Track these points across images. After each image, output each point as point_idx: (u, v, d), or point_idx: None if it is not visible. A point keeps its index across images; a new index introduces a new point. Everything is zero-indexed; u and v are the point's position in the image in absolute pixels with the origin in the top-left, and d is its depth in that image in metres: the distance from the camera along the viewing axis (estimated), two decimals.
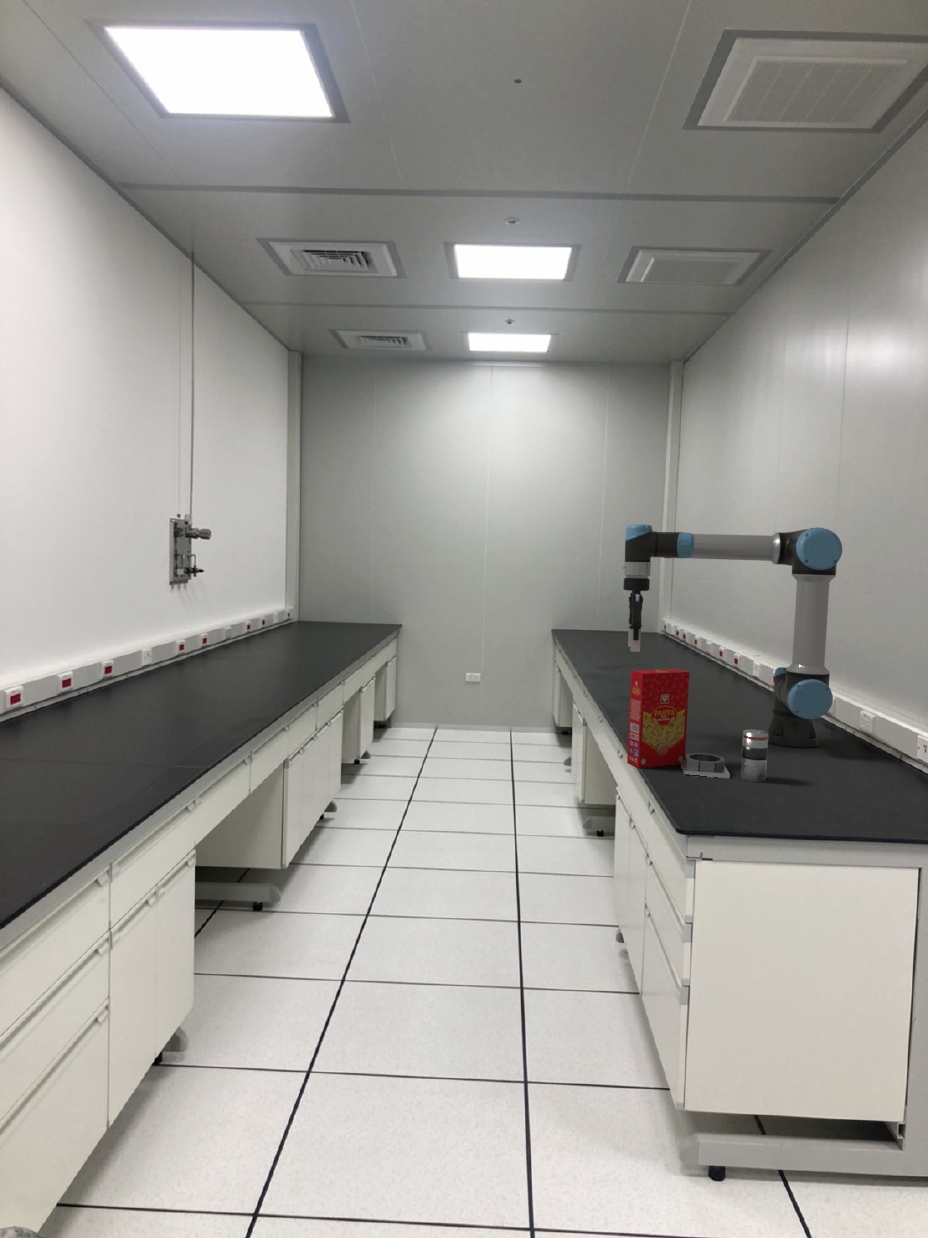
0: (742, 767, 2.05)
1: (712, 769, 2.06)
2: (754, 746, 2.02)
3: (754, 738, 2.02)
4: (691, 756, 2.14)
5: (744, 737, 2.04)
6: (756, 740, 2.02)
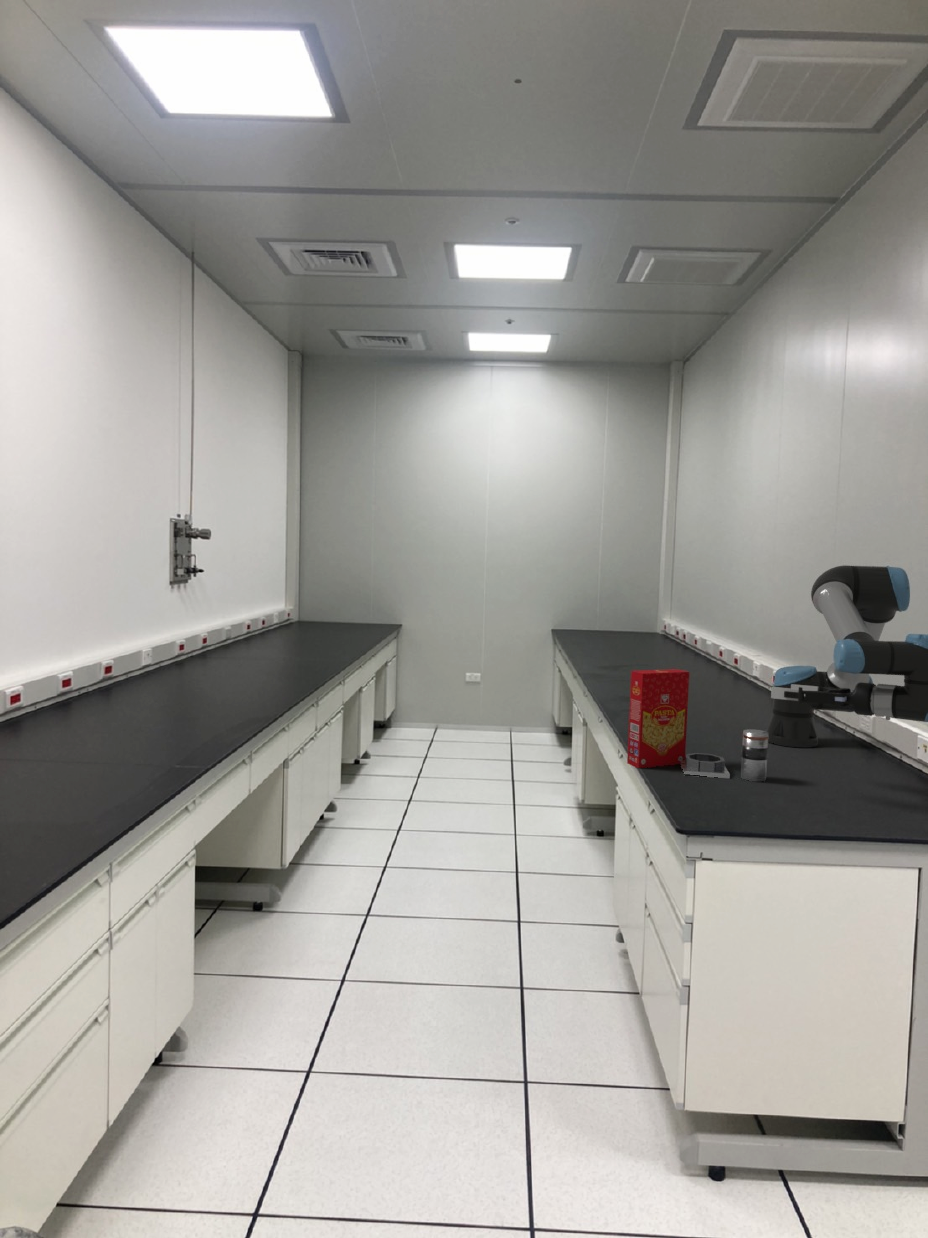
0: (742, 767, 2.05)
1: (712, 769, 2.06)
2: (754, 746, 2.02)
3: (754, 738, 2.02)
4: (691, 756, 2.14)
5: (744, 737, 2.04)
6: (756, 740, 2.02)
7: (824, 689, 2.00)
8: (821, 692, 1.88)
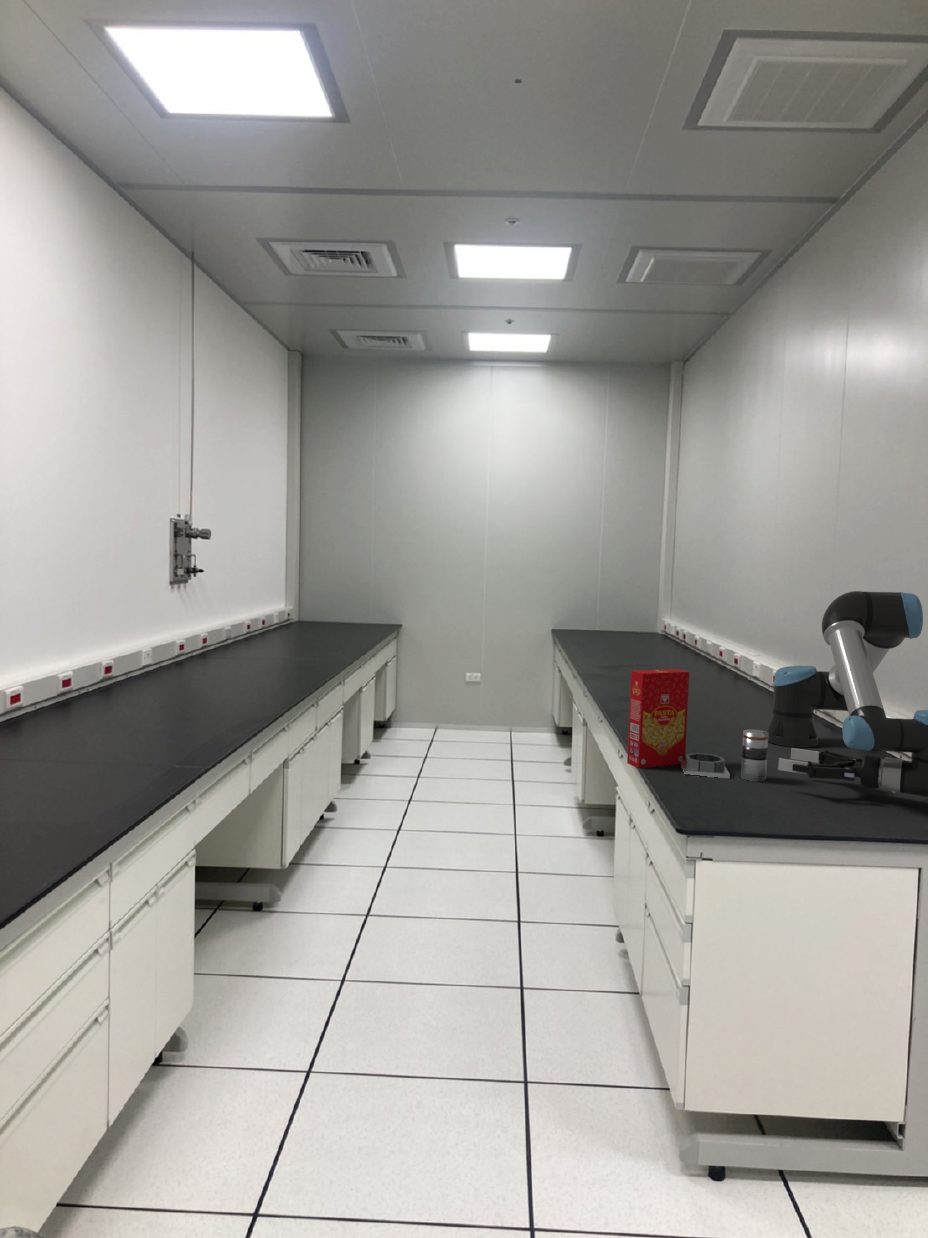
0: (742, 767, 2.05)
1: (712, 769, 2.06)
2: (754, 746, 2.02)
3: (754, 738, 2.02)
4: (691, 756, 2.14)
5: (744, 737, 2.04)
6: (756, 740, 2.02)
7: (825, 755, 2.01)
8: (831, 767, 1.88)
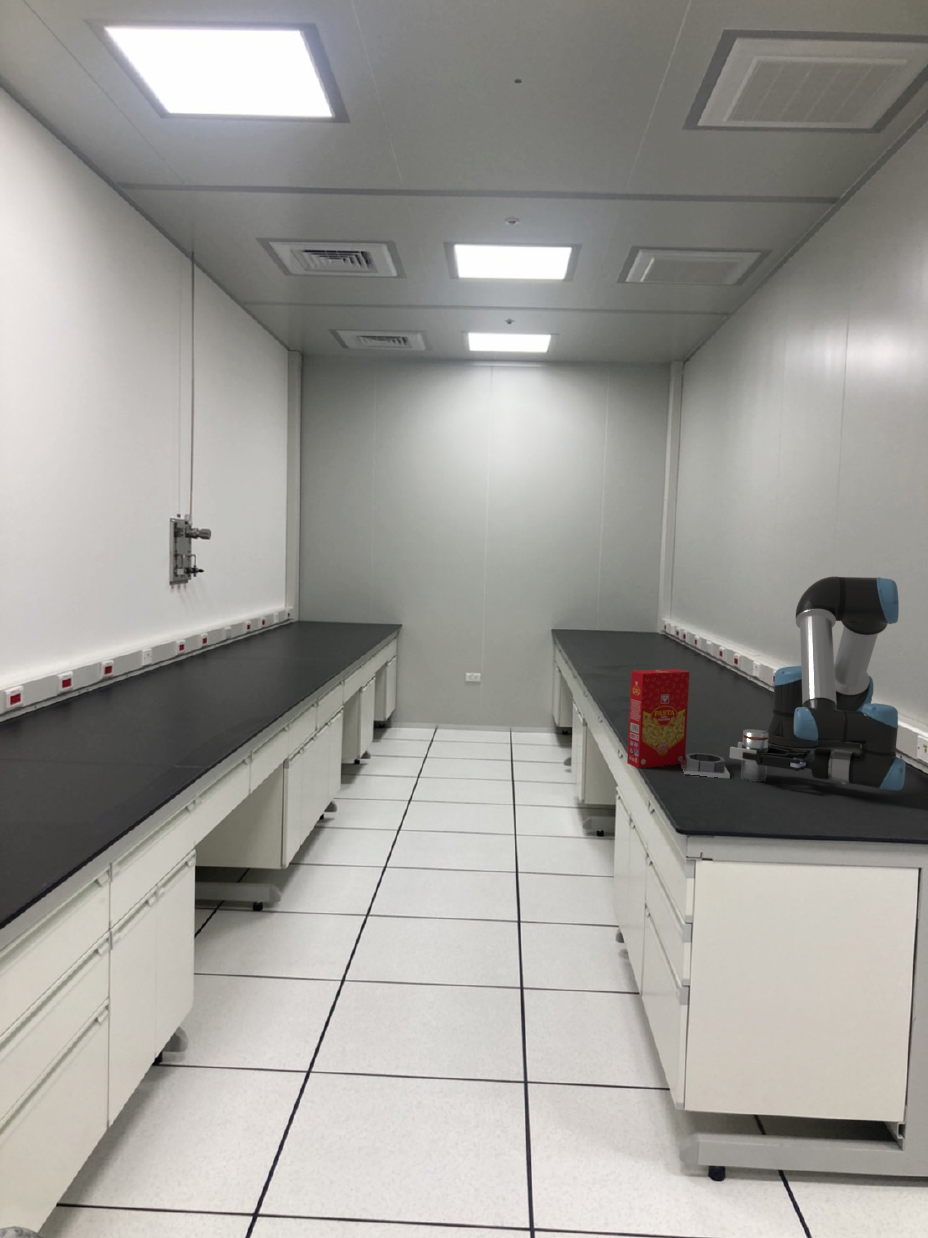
0: (742, 767, 2.05)
1: (712, 769, 2.06)
2: (754, 746, 2.02)
3: (754, 738, 2.02)
4: (691, 756, 2.14)
5: (744, 737, 2.04)
6: (756, 740, 2.02)
7: (773, 749, 2.06)
8: (778, 757, 1.96)
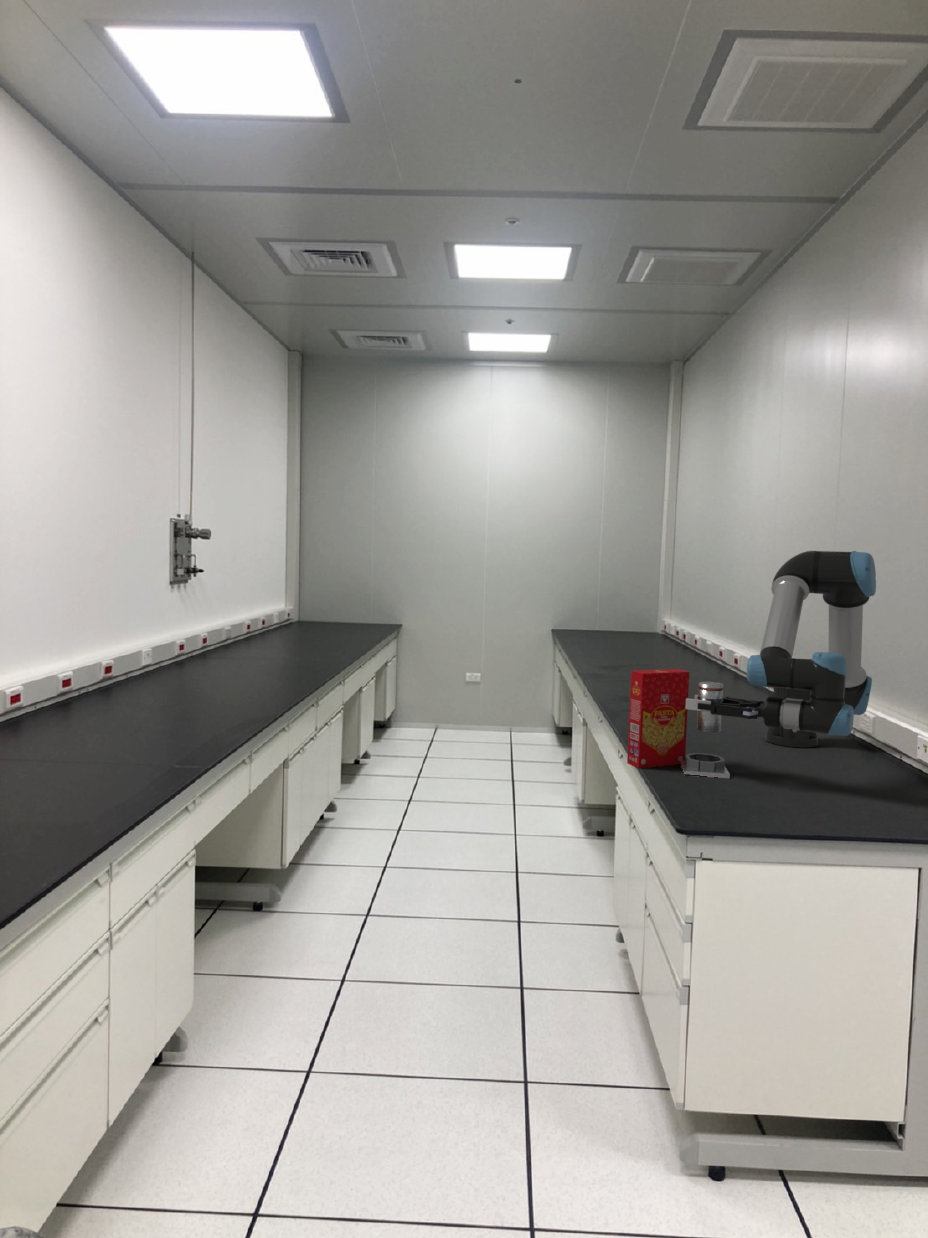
0: (698, 718, 2.09)
1: (712, 769, 2.06)
2: (709, 697, 2.06)
3: (709, 689, 2.06)
4: (691, 756, 2.14)
5: (699, 688, 2.09)
6: (711, 691, 2.06)
7: (728, 700, 2.10)
8: (731, 706, 2.01)
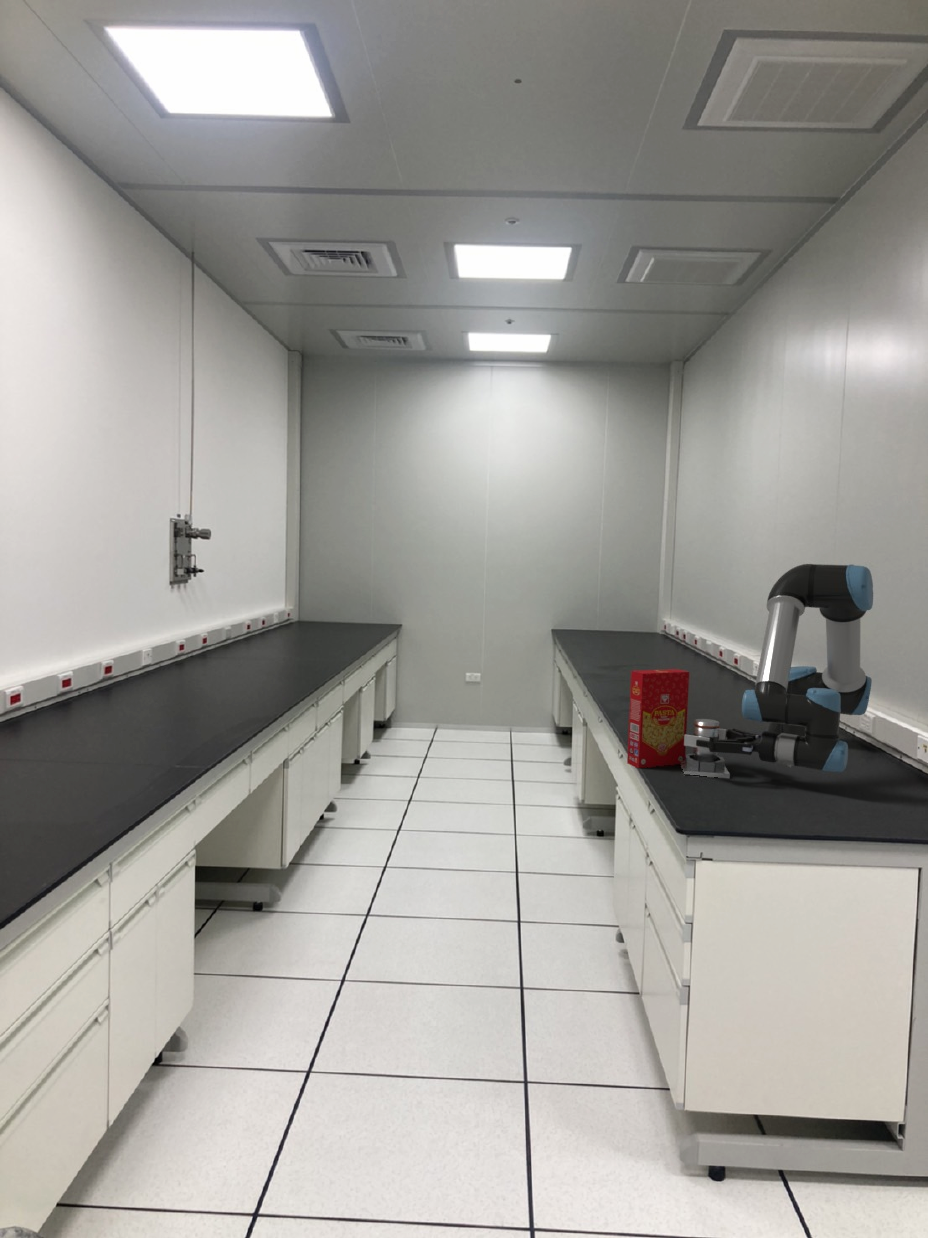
0: (694, 756, 2.11)
1: (712, 769, 2.06)
2: (705, 735, 2.08)
3: (705, 727, 2.08)
4: (691, 756, 2.14)
5: (695, 726, 2.10)
6: (707, 729, 2.08)
7: (731, 732, 2.13)
8: (730, 742, 2.00)
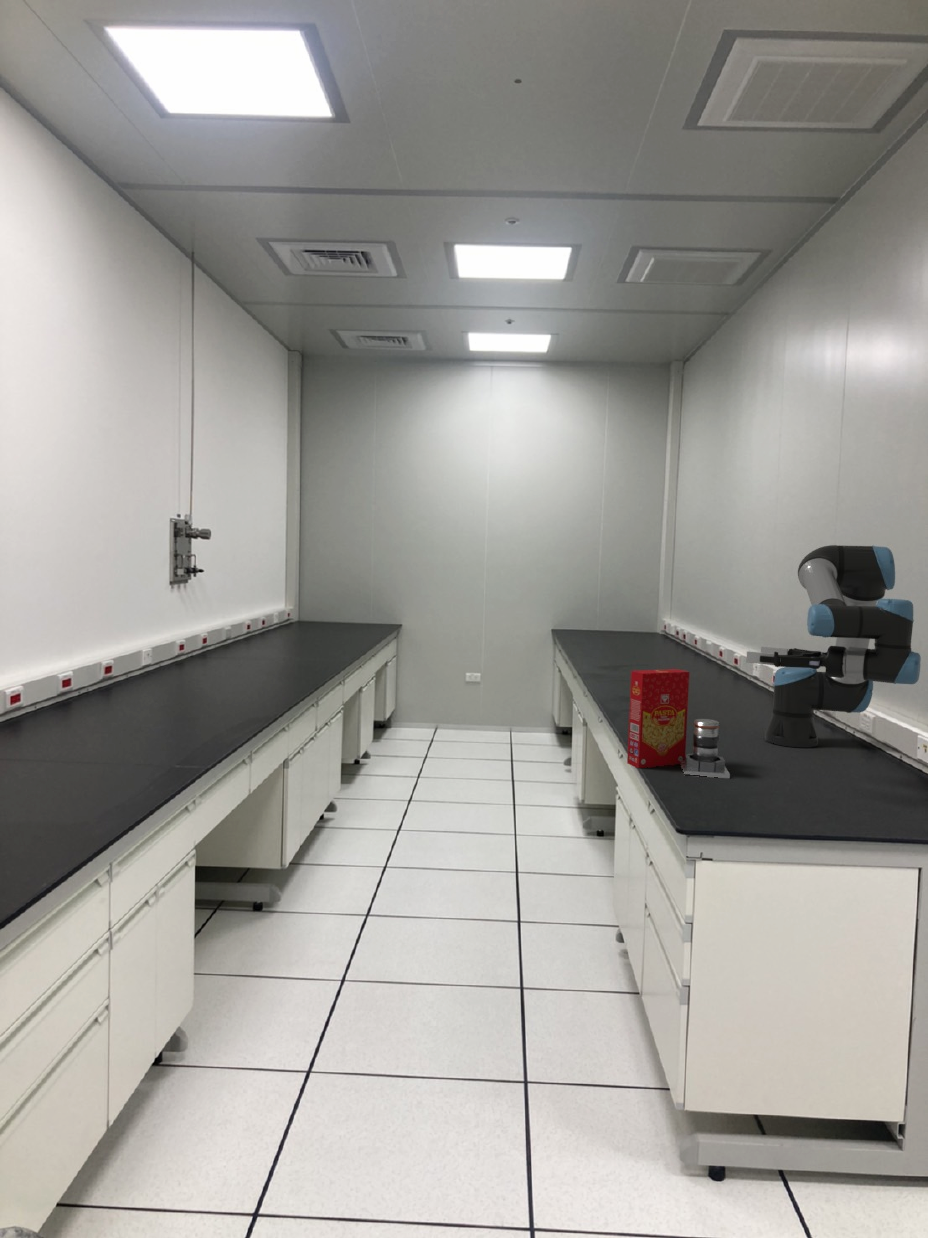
0: (693, 756, 2.11)
1: (712, 769, 2.06)
2: (704, 735, 2.08)
3: (704, 727, 2.08)
4: (691, 756, 2.14)
5: (695, 726, 2.10)
6: (706, 729, 2.07)
7: (794, 651, 2.06)
8: (796, 656, 1.93)
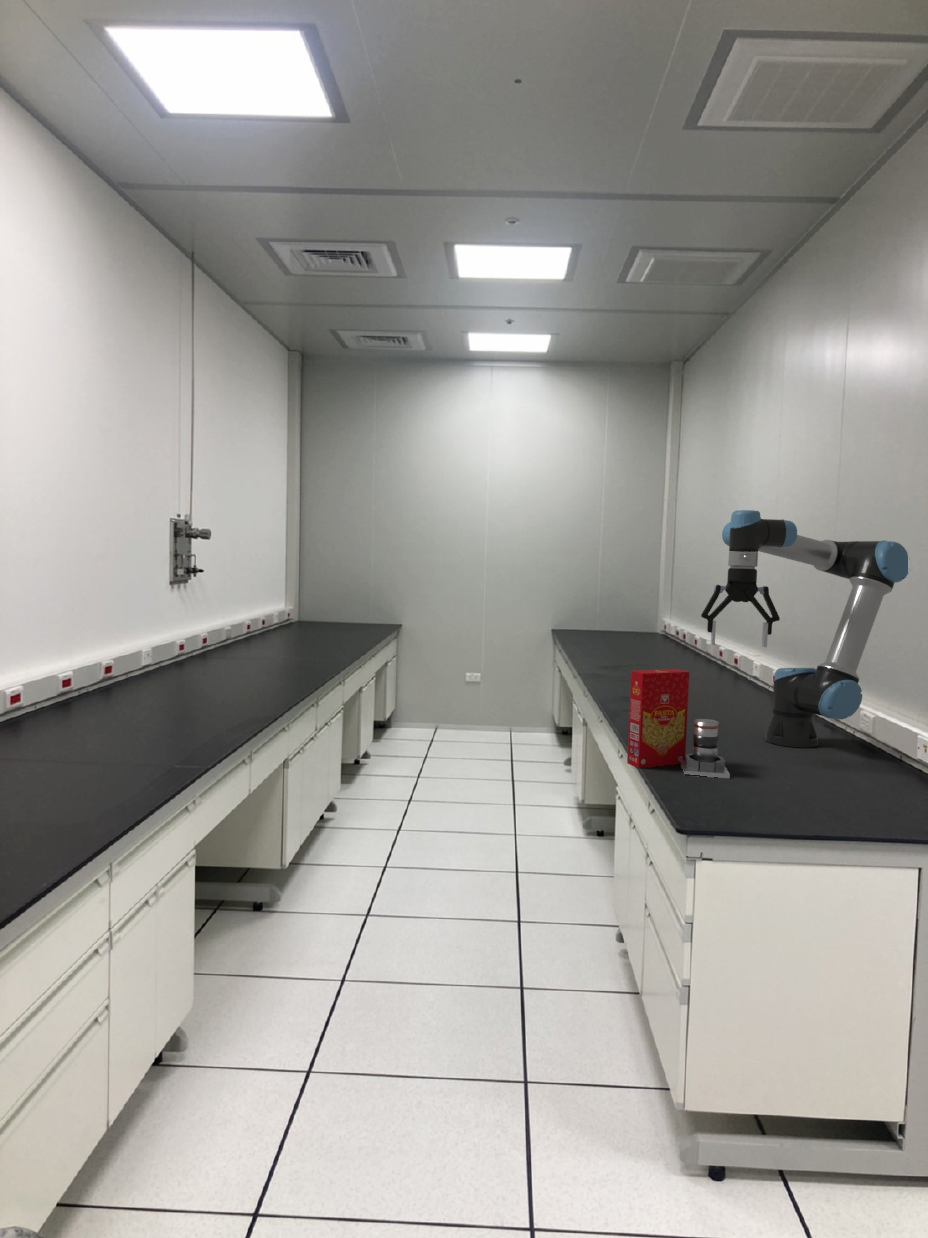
0: (694, 756, 2.11)
1: (712, 769, 2.06)
2: (704, 735, 2.08)
3: (704, 727, 2.08)
4: (691, 756, 2.14)
5: (695, 726, 2.10)
6: (706, 729, 2.08)
7: None
8: None
